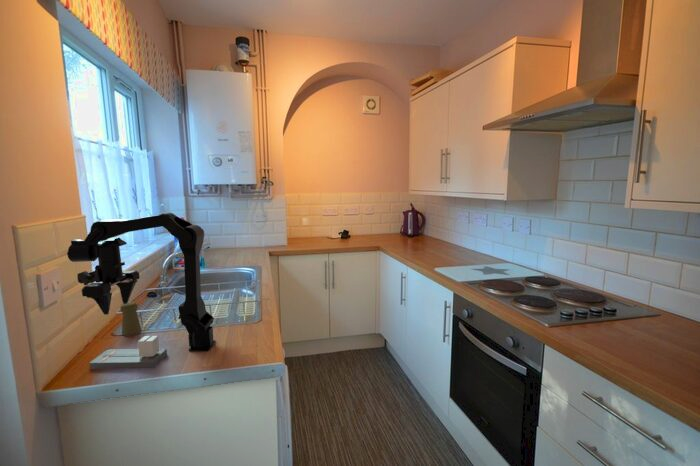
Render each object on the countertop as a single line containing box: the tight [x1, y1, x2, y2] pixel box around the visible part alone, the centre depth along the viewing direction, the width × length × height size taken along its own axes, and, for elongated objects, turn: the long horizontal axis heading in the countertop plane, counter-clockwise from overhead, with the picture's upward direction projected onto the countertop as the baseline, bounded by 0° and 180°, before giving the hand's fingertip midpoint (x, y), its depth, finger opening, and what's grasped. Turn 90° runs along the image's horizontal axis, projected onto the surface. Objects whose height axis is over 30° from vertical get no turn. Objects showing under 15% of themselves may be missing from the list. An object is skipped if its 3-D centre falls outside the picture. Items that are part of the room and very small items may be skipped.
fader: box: [137, 335, 160, 357], centre depth 104 cm, size 4×4×5 cm
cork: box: [120, 301, 142, 337], centre depth 124 cm, size 6×6×11 cm
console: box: [88, 348, 168, 370], centre depth 104 cm, size 18×8×2 cm, turn 91°
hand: (116, 308), depth 110 cm, fingers open, 9 cm apart
